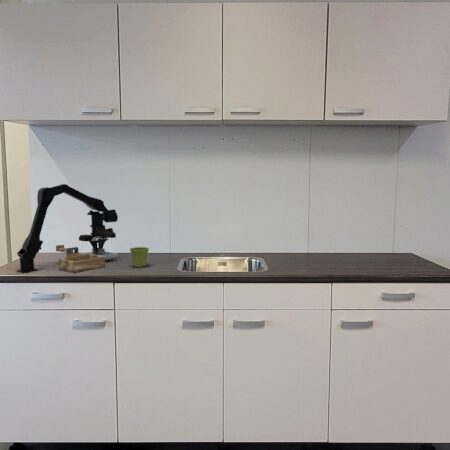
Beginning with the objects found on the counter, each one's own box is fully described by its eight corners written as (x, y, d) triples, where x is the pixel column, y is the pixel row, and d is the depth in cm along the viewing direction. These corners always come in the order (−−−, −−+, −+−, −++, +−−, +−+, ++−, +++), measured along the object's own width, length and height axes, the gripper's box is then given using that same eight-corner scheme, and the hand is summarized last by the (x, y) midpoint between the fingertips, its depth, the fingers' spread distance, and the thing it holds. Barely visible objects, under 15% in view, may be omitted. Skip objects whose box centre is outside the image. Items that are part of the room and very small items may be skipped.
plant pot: (150, 263, 186) (149, 246, 185) (148, 267, 177) (148, 250, 176) (131, 264, 185) (130, 247, 184) (128, 268, 175) (128, 250, 174)
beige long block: (56, 251, 186) (55, 245, 186) (61, 250, 189) (61, 244, 189) (68, 253, 180) (67, 247, 180) (73, 252, 182) (73, 247, 182)
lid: (96, 261, 184) (96, 251, 183) (78, 258, 193) (78, 248, 193) (118, 257, 194) (118, 248, 194) (100, 254, 204) (100, 245, 203)
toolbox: (56, 268, 175) (55, 249, 174) (86, 262, 188) (85, 245, 187) (74, 273, 166) (73, 253, 165) (105, 266, 179) (104, 248, 178)
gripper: (90, 225, 180) (91, 257, 181) (121, 222, 195) (122, 251, 196) (77, 224, 186) (78, 254, 188) (108, 221, 201) (109, 249, 203)
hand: (98, 252), depth 194 cm, fingers closed on lid
